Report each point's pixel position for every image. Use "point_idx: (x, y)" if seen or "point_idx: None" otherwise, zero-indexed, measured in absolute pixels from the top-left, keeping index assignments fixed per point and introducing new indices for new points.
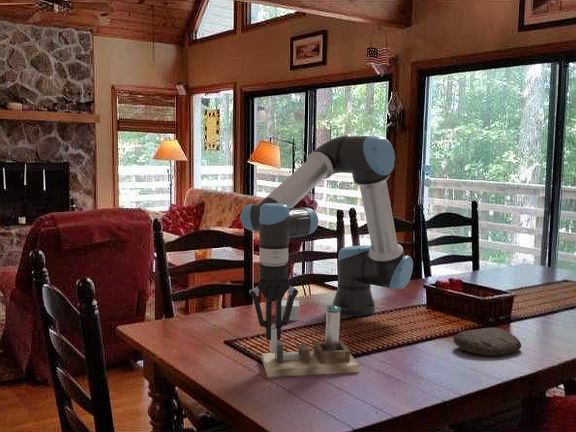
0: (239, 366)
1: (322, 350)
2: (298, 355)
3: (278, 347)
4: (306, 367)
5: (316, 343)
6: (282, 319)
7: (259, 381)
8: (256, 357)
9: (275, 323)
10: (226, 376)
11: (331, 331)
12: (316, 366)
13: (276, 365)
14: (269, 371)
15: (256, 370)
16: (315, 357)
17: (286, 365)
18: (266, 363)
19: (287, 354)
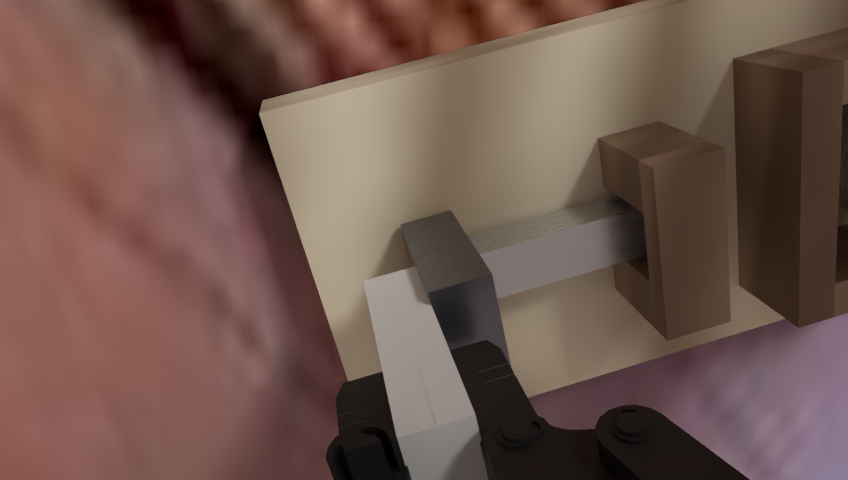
0: (99, 256)
1: (829, 273)
2: (610, 260)
3: None
4: (637, 362)
5: (824, 87)
6: (617, 469)
7: (318, 474)
8: (195, 17)
9: (490, 466)
10: (65, 447)
11: None
12: (706, 333)
13: None
14: None
15: (262, 312)
16: (731, 157)
17: None
18: (342, 340)
19: (521, 270)
